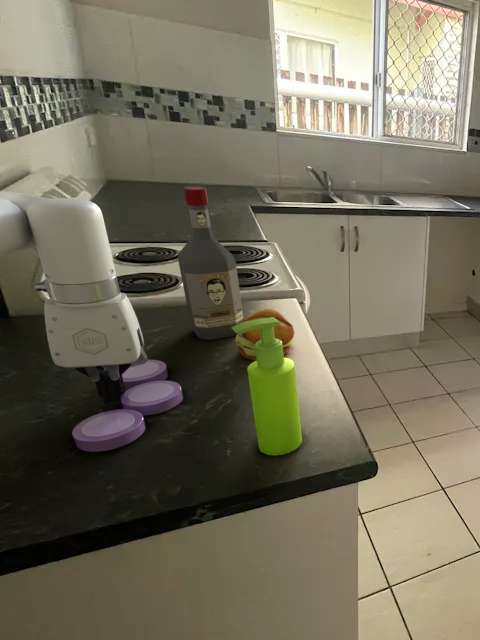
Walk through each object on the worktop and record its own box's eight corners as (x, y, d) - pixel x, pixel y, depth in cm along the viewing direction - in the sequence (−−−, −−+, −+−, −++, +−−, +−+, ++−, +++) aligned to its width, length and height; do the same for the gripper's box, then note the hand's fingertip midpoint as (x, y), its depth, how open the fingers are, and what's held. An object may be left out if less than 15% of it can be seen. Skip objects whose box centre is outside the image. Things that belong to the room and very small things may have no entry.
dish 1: (66, 456, 64) (62, 445, 63) (86, 423, 71) (83, 413, 70) (138, 446, 67) (135, 435, 67) (151, 415, 74) (148, 405, 73)
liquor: (190, 327, 103) (161, 184, 91) (236, 319, 109) (215, 184, 97) (199, 342, 97) (170, 192, 85) (248, 333, 103) (227, 191, 91)
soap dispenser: (245, 443, 70) (225, 318, 62) (292, 427, 75) (279, 309, 66) (260, 464, 66) (240, 334, 58) (308, 445, 71) (297, 323, 63)
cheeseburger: (271, 335, 103) (274, 296, 98) (304, 360, 99) (308, 321, 94) (225, 350, 95) (226, 307, 90) (259, 378, 91) (261, 335, 86)
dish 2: (105, 393, 78) (102, 383, 77) (119, 371, 85) (116, 361, 84) (163, 387, 81) (160, 378, 80) (172, 366, 88) (170, 357, 87)
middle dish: (116, 419, 73) (113, 409, 72) (131, 392, 79) (128, 383, 78) (177, 412, 76) (175, 402, 75) (187, 387, 82) (185, 377, 81)
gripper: (2, 299, 61) (42, 417, 69) (142, 296, 67) (165, 405, 75) (28, 281, 68) (62, 391, 75) (154, 280, 74) (174, 382, 81)
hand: (114, 398), depth 75 cm, fingers closed
